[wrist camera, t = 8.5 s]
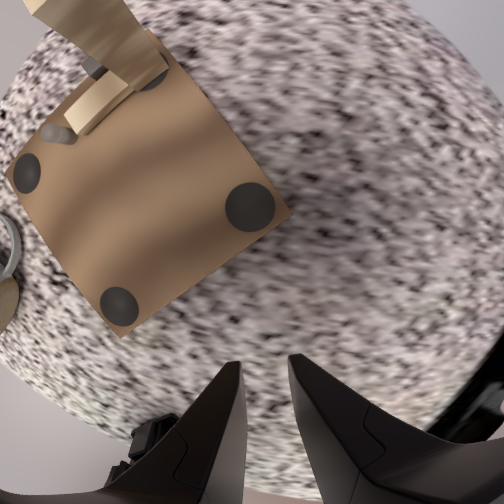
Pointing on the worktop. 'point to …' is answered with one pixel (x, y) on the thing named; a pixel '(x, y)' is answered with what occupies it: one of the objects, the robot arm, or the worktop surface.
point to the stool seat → (143, 195)
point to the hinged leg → (102, 52)
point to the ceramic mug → (9, 277)
